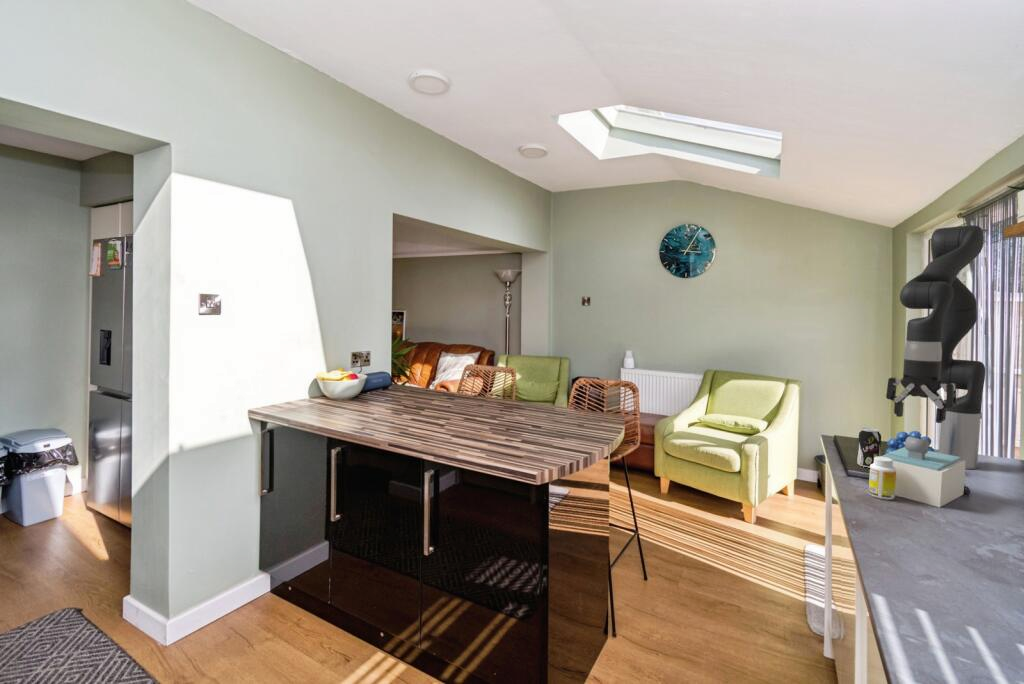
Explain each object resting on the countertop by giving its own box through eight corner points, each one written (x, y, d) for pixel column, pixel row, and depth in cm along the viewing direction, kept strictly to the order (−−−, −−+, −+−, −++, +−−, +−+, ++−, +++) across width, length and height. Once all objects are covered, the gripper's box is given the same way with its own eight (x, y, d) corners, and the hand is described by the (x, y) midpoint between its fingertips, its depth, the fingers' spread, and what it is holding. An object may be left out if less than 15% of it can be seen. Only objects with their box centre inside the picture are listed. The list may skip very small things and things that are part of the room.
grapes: (934, 469, 152) (937, 431, 151) (931, 474, 147) (934, 435, 146) (887, 460, 160) (889, 424, 159) (883, 465, 155) (885, 428, 155)
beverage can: (858, 468, 153) (859, 430, 152) (856, 462, 158) (857, 426, 157) (880, 471, 150) (882, 432, 149) (878, 465, 155) (880, 428, 154)
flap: (906, 448, 142) (907, 428, 142) (960, 459, 132) (961, 437, 131) (886, 455, 135) (887, 434, 135) (942, 467, 125) (943, 444, 125)
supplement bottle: (897, 496, 130) (899, 459, 129) (891, 502, 127) (893, 463, 126) (872, 490, 135) (874, 454, 134) (865, 495, 131) (867, 458, 130)
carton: (900, 478, 144) (902, 446, 143) (963, 494, 132) (965, 458, 131) (874, 489, 135) (876, 455, 135) (939, 507, 123) (942, 469, 123)
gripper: (963, 360, 125) (958, 423, 126) (896, 355, 137) (893, 412, 138) (951, 361, 121) (947, 426, 122) (884, 356, 133) (880, 416, 135)
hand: (918, 419), depth 130 cm, fingers open, 8 cm apart
